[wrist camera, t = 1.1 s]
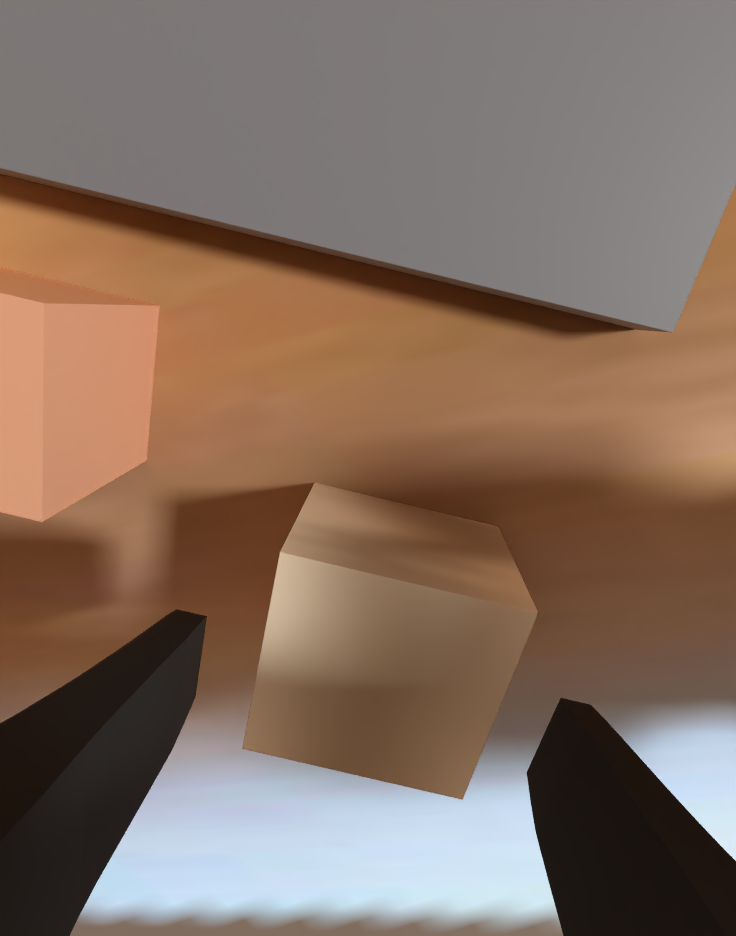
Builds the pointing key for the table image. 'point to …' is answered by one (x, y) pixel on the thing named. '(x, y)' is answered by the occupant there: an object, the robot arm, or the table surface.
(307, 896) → the table surface
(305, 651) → the birch block
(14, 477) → the terracotta cube
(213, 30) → the base board
